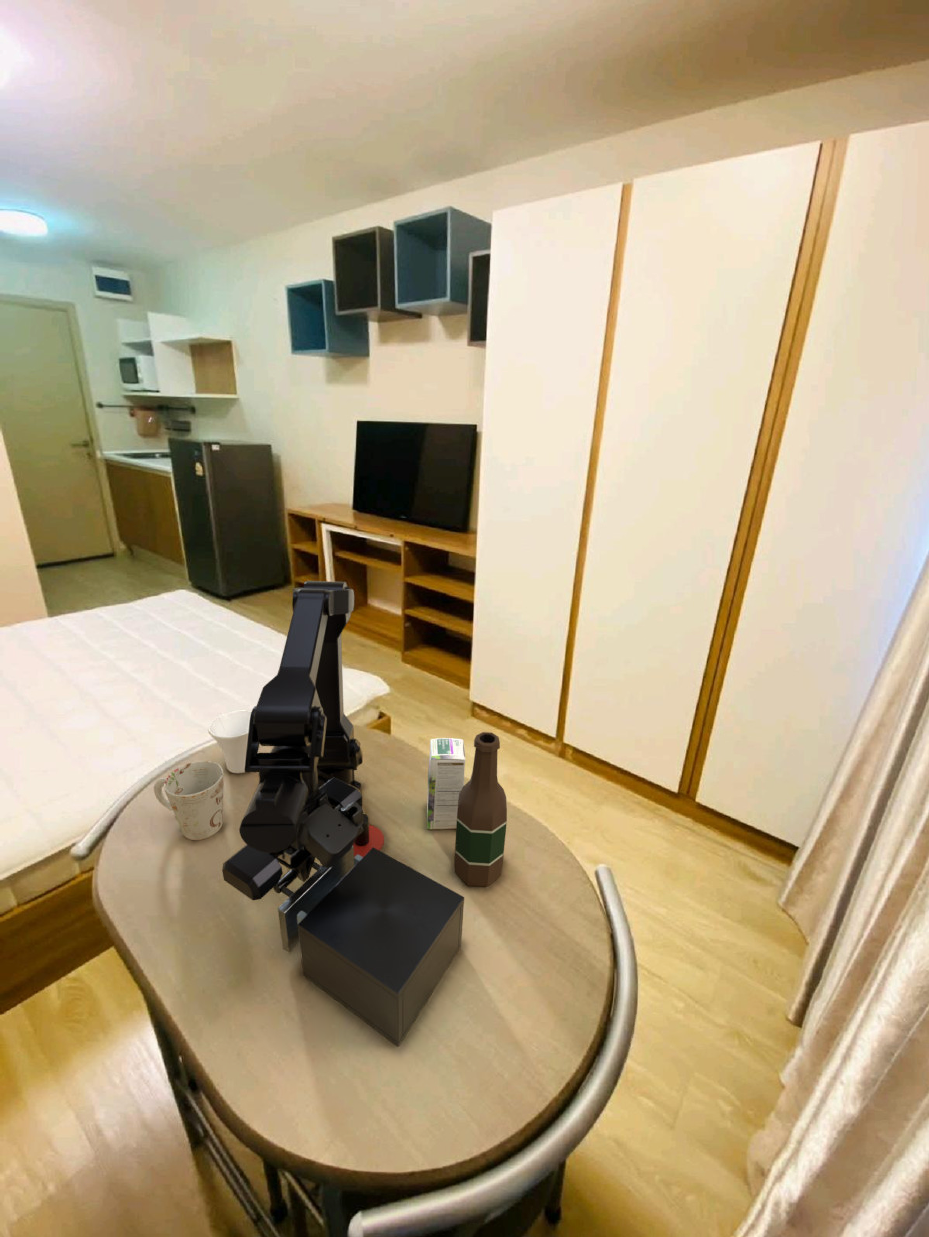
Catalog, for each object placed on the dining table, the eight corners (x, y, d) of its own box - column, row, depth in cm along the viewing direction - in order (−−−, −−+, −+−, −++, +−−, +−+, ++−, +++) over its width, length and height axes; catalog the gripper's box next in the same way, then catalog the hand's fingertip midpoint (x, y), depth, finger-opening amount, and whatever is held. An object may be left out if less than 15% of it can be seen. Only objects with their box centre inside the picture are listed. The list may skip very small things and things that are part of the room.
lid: (359, 821, 88) (358, 797, 86) (392, 838, 85) (392, 814, 83) (330, 848, 82) (328, 823, 80) (364, 868, 79) (363, 843, 77)
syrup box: (426, 805, 92) (428, 737, 86) (459, 805, 92) (463, 737, 87) (427, 830, 87) (428, 759, 81) (462, 829, 87) (466, 758, 82)
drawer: (256, 929, 68) (250, 889, 65) (324, 864, 78) (321, 827, 75) (364, 1009, 60) (362, 967, 57) (425, 925, 70) (426, 886, 67)
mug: (209, 850, 81) (199, 800, 77) (139, 835, 83) (126, 785, 79) (241, 813, 88) (233, 765, 84) (176, 800, 90) (166, 752, 87)
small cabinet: (303, 975, 64) (297, 924, 60) (374, 894, 75) (373, 846, 71) (398, 1047, 57) (398, 994, 54) (461, 946, 68) (464, 897, 65)
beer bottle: (510, 858, 82) (523, 731, 73) (491, 897, 75) (503, 762, 66) (465, 841, 85) (473, 716, 76) (443, 876, 78) (449, 744, 69)
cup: (246, 745, 105) (240, 702, 101) (275, 763, 100) (270, 720, 97) (204, 767, 99) (196, 722, 95) (232, 788, 94) (225, 742, 90)
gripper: (280, 869, 53) (292, 969, 59) (392, 769, 68) (393, 858, 74) (210, 824, 58) (228, 921, 64) (329, 741, 73) (335, 826, 79)
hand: (303, 878), depth 70 cm, fingers closed
